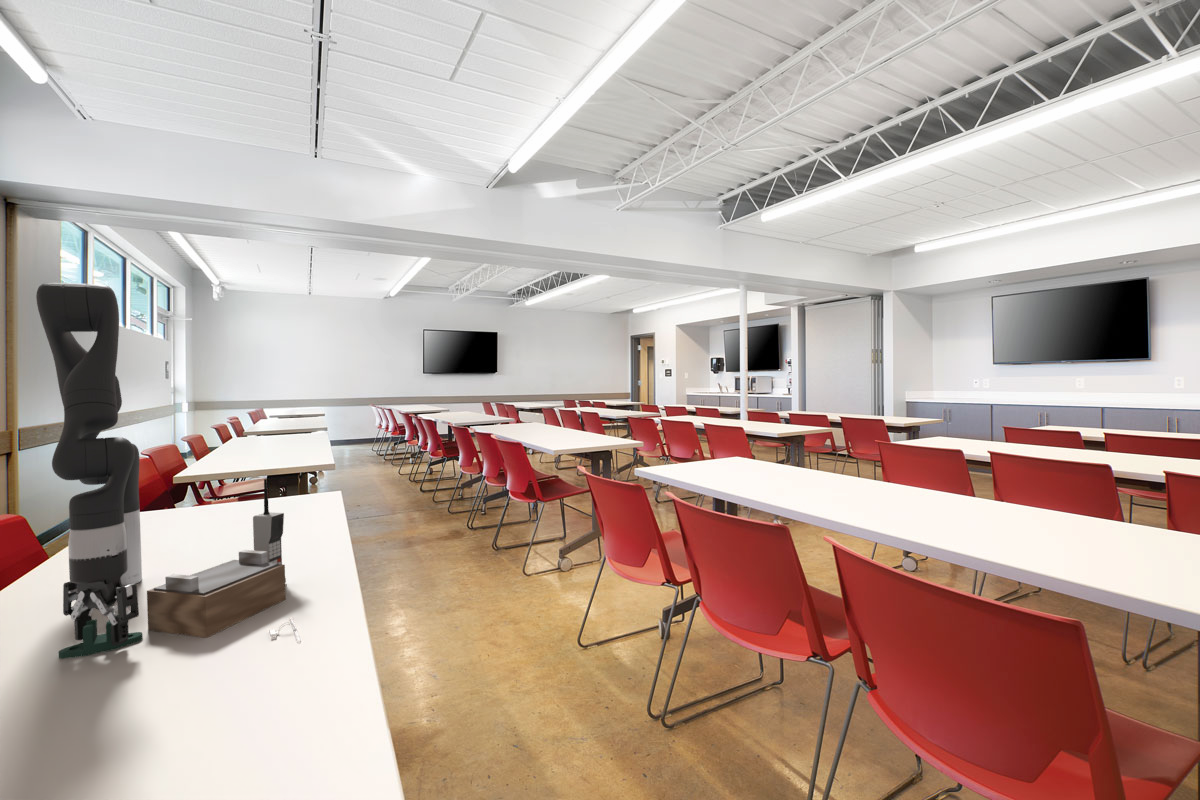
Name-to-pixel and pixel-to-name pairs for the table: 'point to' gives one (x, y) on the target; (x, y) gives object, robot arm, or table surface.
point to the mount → (96, 641)
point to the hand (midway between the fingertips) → (101, 640)
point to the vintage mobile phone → (268, 532)
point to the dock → (216, 596)
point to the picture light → (274, 633)
